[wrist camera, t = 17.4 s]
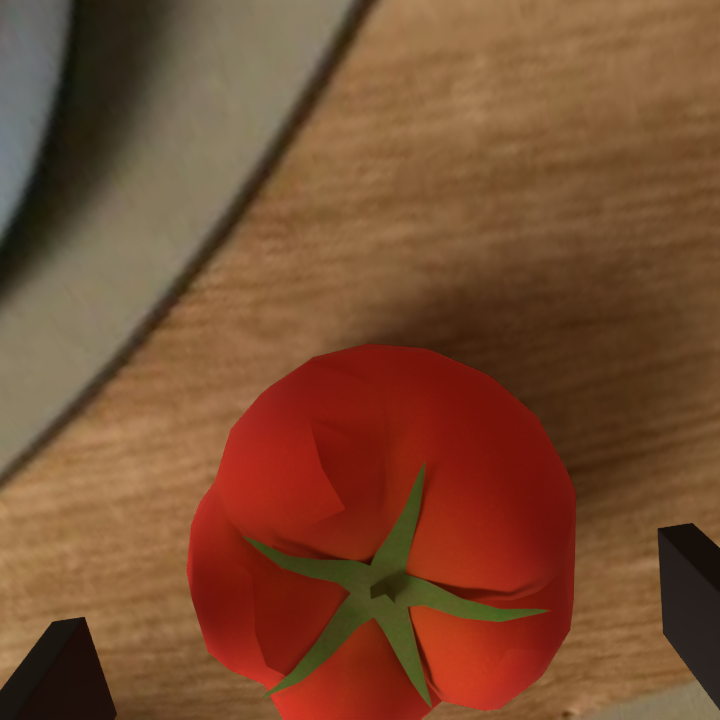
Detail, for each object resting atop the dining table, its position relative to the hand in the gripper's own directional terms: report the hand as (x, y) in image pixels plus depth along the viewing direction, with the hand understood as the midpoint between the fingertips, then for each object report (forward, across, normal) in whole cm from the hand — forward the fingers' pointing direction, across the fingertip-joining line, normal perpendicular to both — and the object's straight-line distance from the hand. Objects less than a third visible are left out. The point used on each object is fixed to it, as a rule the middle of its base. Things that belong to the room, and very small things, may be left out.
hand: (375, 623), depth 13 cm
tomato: (+7, 0, 0) cm, 7 cm away
